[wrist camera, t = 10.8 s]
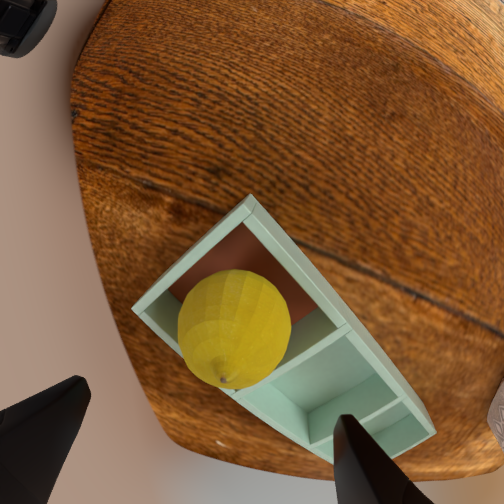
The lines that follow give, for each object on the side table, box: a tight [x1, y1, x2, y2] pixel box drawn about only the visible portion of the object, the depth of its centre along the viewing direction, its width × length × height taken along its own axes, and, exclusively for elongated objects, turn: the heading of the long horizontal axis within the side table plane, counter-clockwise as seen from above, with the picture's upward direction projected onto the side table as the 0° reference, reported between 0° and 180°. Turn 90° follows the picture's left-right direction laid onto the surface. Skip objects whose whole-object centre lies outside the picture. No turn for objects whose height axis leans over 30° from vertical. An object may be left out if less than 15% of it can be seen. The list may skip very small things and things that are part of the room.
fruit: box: [178, 269, 291, 389], centre depth 14 cm, size 6×6×8 cm
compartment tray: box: [131, 194, 437, 465], centre depth 18 cm, size 25×9×4 cm, turn 42°
